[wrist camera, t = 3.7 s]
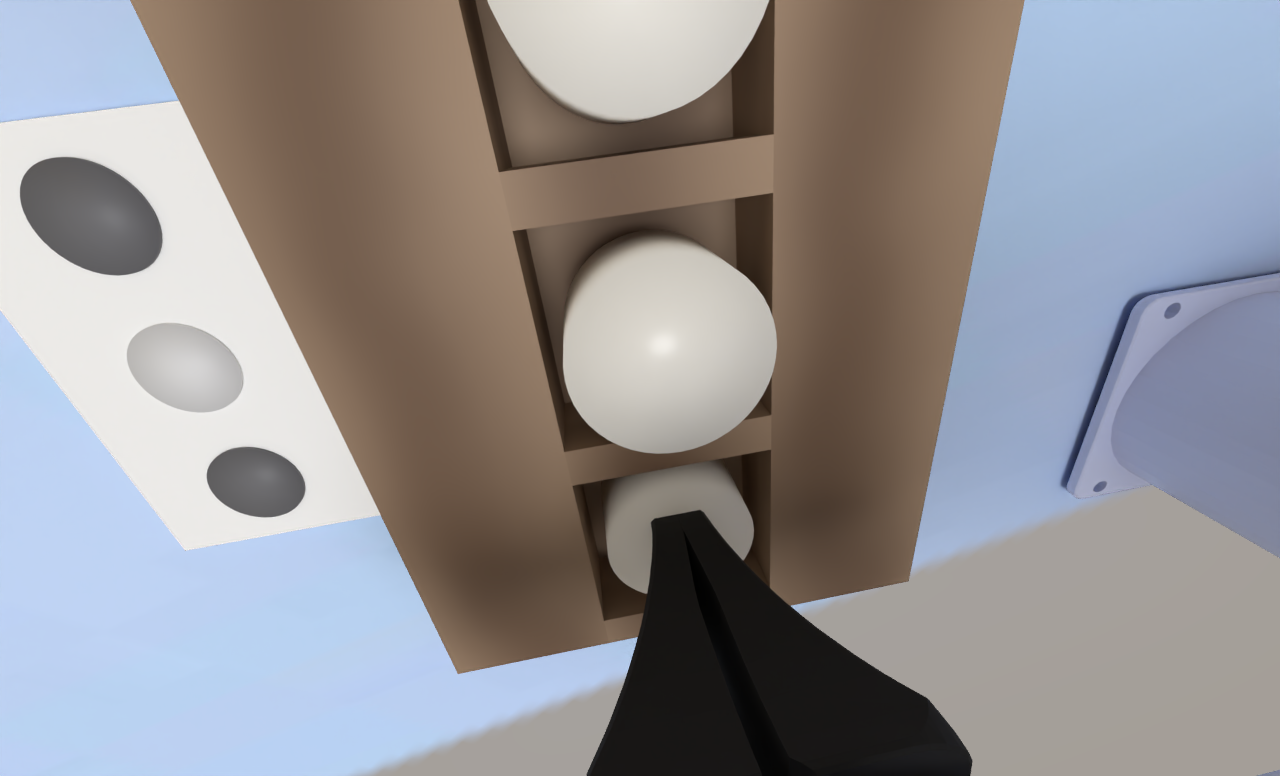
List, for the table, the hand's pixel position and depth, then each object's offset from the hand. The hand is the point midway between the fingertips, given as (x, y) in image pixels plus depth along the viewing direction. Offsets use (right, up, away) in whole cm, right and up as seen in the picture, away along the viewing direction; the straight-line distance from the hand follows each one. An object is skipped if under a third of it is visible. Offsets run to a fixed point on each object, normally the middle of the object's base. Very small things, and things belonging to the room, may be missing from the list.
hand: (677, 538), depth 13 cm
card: (-12, +5, -1) cm, 13 cm away
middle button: (-1, +6, -2) cm, 6 cm away
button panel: (-1, +7, 0) cm, 7 cm away
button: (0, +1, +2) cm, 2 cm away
